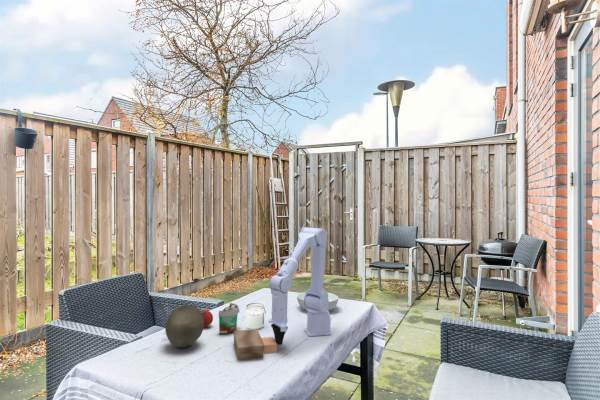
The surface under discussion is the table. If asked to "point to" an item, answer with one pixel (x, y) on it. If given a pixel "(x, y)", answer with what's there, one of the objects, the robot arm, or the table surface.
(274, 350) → the peach block
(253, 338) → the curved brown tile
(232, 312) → the food container
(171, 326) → the cantaloupe
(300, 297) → the serving bowl
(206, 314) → the onion
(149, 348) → the table surface
